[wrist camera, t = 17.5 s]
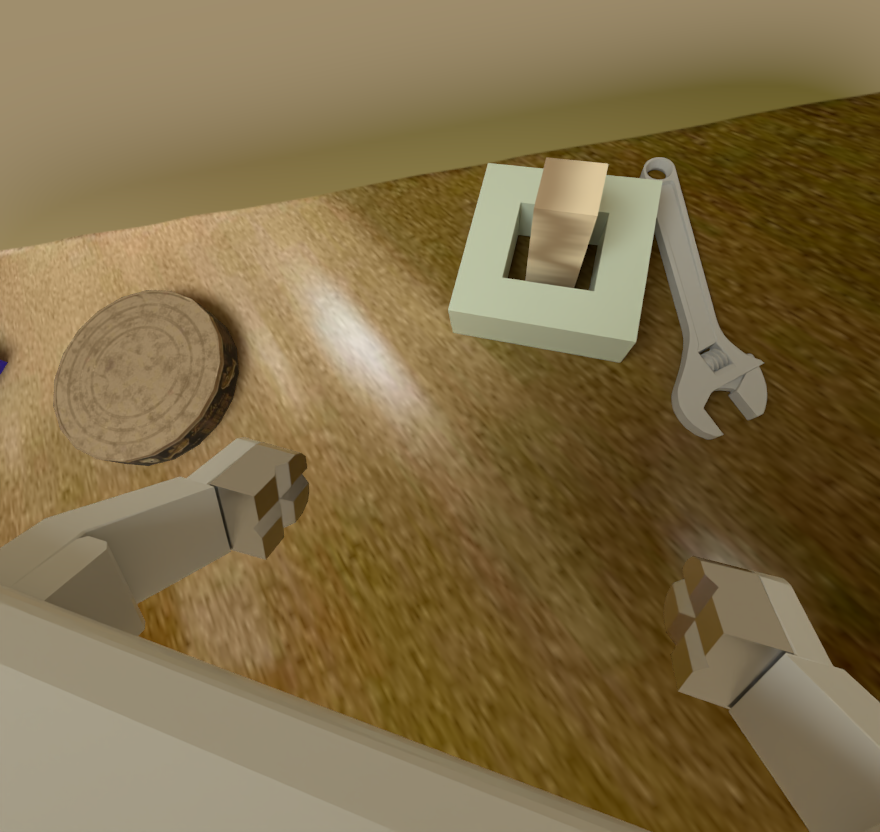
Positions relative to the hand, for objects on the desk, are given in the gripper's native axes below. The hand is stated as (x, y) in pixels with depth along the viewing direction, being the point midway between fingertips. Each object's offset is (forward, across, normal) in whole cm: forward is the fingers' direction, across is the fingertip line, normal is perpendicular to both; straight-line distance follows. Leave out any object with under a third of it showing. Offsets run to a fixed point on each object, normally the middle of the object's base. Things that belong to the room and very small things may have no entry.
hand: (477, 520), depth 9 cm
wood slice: (+21, +33, +14) cm, 41 cm away
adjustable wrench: (+33, -12, +2) cm, 36 cm away
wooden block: (+33, 0, +2) cm, 33 cm away
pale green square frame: (+33, 0, +2) cm, 33 cm away
